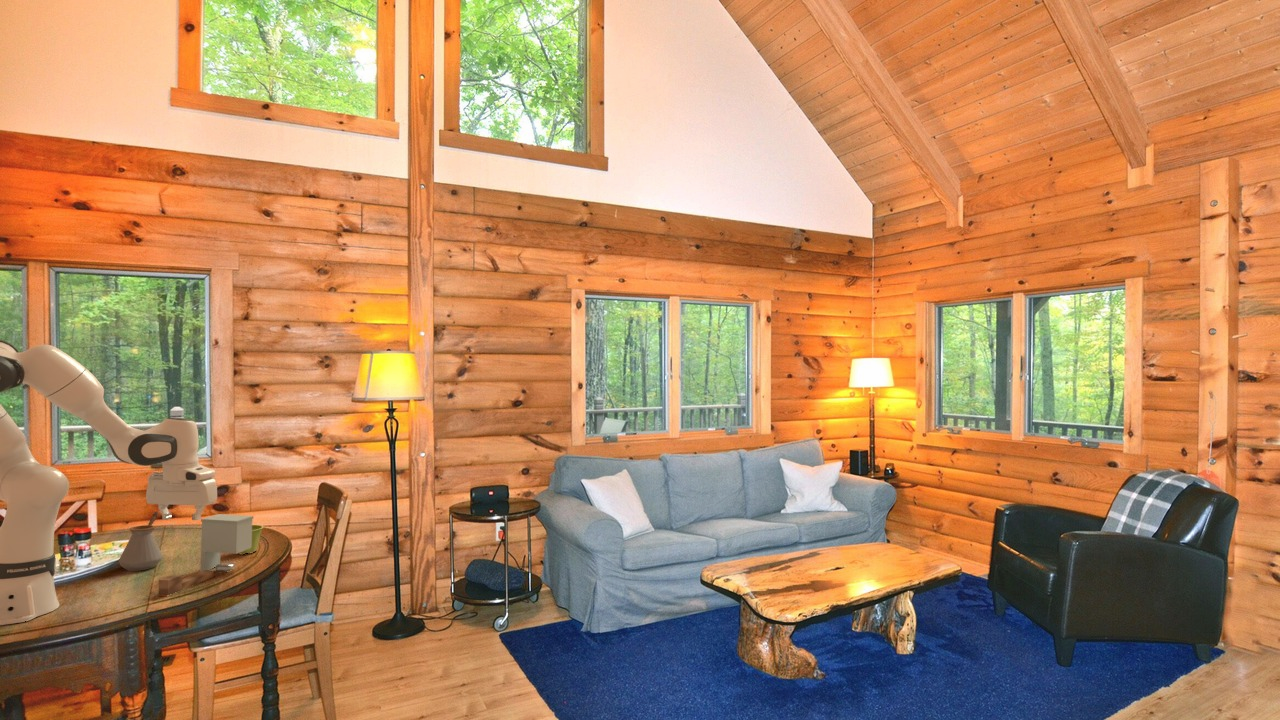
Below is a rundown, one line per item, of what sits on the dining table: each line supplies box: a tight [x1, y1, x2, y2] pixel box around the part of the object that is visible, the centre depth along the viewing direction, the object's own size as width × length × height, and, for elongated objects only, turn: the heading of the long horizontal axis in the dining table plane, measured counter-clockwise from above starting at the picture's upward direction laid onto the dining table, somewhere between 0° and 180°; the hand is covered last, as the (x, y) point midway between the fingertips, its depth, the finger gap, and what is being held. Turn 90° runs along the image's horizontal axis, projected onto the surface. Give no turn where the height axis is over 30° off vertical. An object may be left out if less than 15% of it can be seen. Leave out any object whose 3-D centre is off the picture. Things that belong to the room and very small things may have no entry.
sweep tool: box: [157, 569, 215, 596], centre depth 198 cm, size 18×3×4 cm, turn 174°
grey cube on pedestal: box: [199, 513, 254, 573], centre depth 214 cm, size 7×12×17 cm, turn 84°
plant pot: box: [239, 524, 264, 554], centre depth 234 cm, size 9×9×9 cm
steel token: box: [215, 562, 235, 573], centre depth 213 cm, size 5×5×2 cm
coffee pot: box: [118, 511, 164, 572], centre depth 219 cm, size 21×12×15 cm, turn 21°
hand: (181, 519), depth 195 cm, fingers open, 8 cm apart
